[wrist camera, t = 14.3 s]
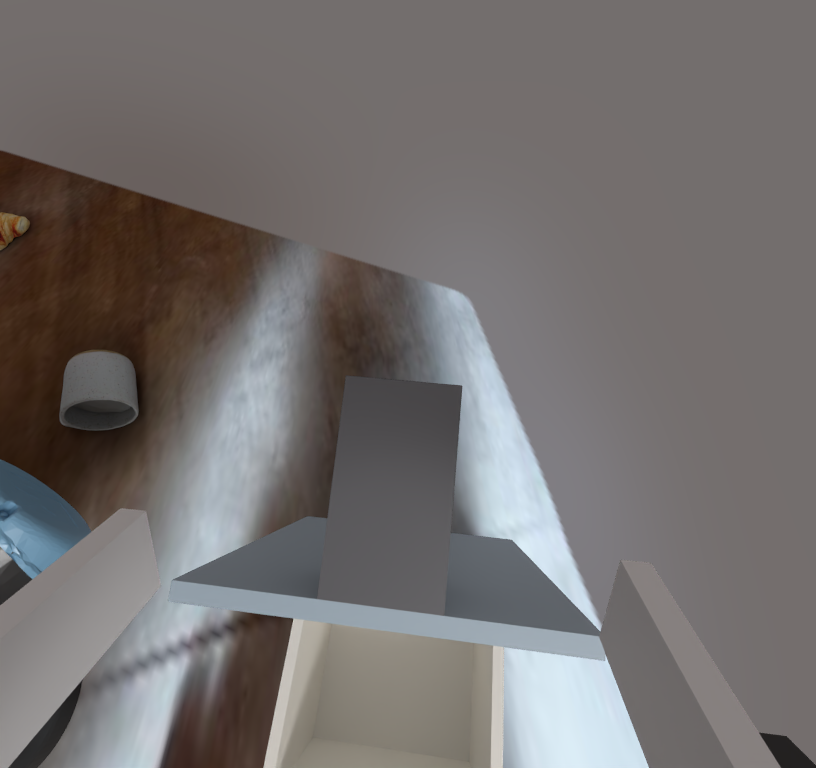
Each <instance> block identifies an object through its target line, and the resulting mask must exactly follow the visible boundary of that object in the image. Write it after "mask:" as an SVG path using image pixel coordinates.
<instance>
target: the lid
mask: <svg viewBox="0 0 816 768" xmlns="http://www.w3.org/2000/svg"><path fill="white" fill-rule="evenodd" d="M461 396H462V386H460V385H449V384H437V383H426V382H415V381H403V380H392V379H380V378H369V377H358V376H346V379H345V386H344V394H343V402H342V410H341V417H340V425H339V433H338V440H337V448H336V456H335V464H334V471H333V479H332V487H331V494H330V502H329V510H328V518H319V517H310V516H307V517H305V518H303V519H301V520H299V521H296V522H294V523H292V524H290V525H288V526H286V527H284V528H282V529H279V530H277V531H275V532H273V533H271V534H269V535H267V536H265V537H262V538H260V539H258V540H256V541H254V542H252V543H250V544H248V545H245V546H243V547H241V548H239V549H237V550H235V551H233V552H231V553H228V554H226V555H224V556H222V557H220V558H218V559H216V560H214V561H212V562H209V563H207V564H205V565H203V566H201V567H199V568H197V569H195V570H192V571H190V572H188V573H186V574H184V575H182V576H180V577H178V578H175V579H173V580H172V583H171V588H170V593H169V599H168V601H169V602H176V603H184V604H191V605H198V606H206V607H213V608H220V609H228V610H235V611H242V612H250V613H257V614H264V615H272V616H279V617H286V618H294V619H301V620H309V621H316V622H323V623H331V624H338V625H345V626H353V627H360V628H367V629H375V630H382V631H389V632H397V633H404V634H411V635H419V636H426V637H433V638H441V639H448V640H455V641H463V642H470V643H477V644H485V645H492V646H500V647H507V648H514V649H522V650H529V651H536V652H544V653H551V654H558V655H566V656H573V657H580V658H588V659H595V660H602V661H605V651H604V649H603V646H602V643H601V641H600V638H599V636H600V631H599V630H598V629H597V628H596V627H595V626H594V625H593V624H592V623H591V622H590V621H589V619H588V618H587V617H586V616H585V615H584V614H583V613H582V612H581V611H580V610H579V609H578V608H577V607H576V606H575V605H574V604H573V603H572V602H571V601H570V600H569V599H568V598H567V597H566V596H565V595H564V594H563V592H562V591H561V590H560V589H559V588H558V587H557V586H556V585H555V584H554V583H553V582H552V581H551V580H550V579H549V578H548V577H547V576H546V575H545V574H544V573H543V572H542V571H541V570H540V569H539V568H538V567H537V565H536V564H535V563H534V562H533V561H532V560H531V559H530V558H529V557H528V556H527V555H526V554H525V553H524V552H523V551H522V550H521V549H520V548H519V547H518V546H517V545H516V544H515V543H514V542H513V541H512V540H508V539H500V538H491V537H483V536H474V535H465V534H457V533H451V523H452V511H453V498H454V485H455V472H456V459H457V447H458V434H459V421H460V408H461Z"/></svg>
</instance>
